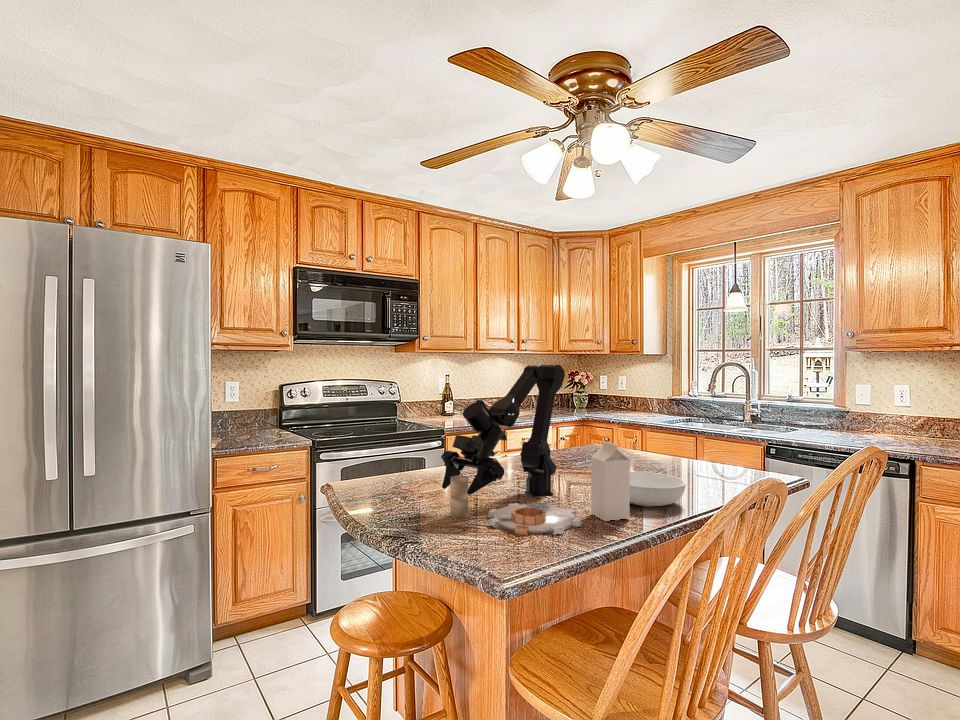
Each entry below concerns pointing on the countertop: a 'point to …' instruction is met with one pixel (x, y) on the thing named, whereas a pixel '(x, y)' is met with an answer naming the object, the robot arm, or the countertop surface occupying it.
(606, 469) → the milk carton
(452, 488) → the drive pin
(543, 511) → the sprocket wheel
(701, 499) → the countertop surface
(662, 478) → the serving bowl
